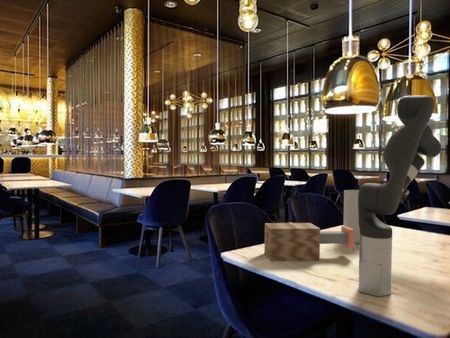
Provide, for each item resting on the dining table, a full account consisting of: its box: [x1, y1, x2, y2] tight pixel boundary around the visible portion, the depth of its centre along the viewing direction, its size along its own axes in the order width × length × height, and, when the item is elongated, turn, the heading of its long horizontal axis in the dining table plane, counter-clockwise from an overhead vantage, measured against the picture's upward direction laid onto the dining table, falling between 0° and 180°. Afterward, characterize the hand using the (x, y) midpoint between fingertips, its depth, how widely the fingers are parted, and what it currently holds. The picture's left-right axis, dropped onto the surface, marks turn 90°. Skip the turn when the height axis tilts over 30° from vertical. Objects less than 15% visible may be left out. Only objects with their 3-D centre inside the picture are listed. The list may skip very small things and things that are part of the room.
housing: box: [264, 221, 321, 262], centre depth 143 cm, size 20×12×13 cm, turn 94°
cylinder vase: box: [342, 189, 360, 245], centre depth 172 cm, size 12×12×25 cm
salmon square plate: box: [320, 225, 355, 250], centre depth 144 cm, size 20×8×8 cm, turn 94°
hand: (380, 205), depth 144 cm, fingers open, 8 cm apart
